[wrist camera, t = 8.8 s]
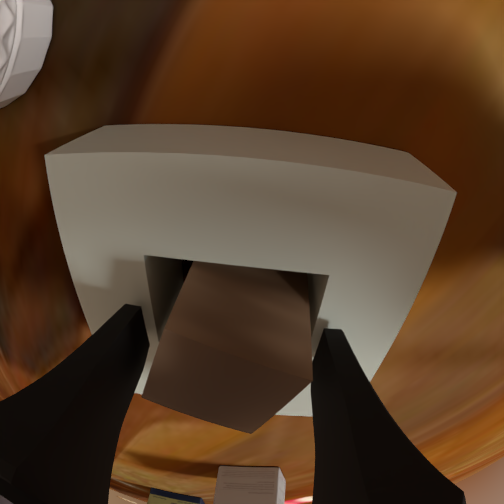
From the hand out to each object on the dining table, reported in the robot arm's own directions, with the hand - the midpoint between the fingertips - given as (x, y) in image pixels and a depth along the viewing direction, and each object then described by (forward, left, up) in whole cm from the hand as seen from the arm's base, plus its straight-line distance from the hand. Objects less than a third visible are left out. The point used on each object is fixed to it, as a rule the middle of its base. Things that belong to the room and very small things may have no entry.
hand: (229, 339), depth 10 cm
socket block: (0, 0, -4) cm, 4 cm away
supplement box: (-3, +32, -5) cm, 32 cm away
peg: (0, 0, -5) cm, 5 cm away
